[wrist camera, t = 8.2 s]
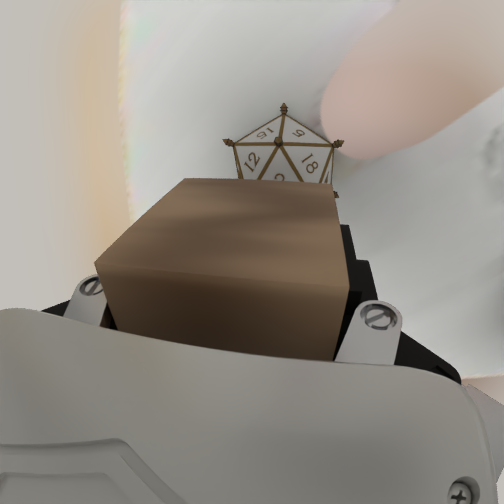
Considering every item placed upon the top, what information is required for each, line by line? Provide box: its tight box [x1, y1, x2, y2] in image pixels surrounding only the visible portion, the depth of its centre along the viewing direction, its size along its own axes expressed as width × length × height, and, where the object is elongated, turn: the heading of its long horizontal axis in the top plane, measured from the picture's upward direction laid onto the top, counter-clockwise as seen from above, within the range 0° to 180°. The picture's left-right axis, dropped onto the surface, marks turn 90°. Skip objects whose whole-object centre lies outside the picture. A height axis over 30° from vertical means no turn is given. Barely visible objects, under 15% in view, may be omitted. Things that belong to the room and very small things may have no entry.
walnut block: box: [94, 178, 349, 361], centre depth 10 cm, size 6×6×6 cm
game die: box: [222, 103, 344, 198], centre depth 22 cm, size 9×8×10 cm
